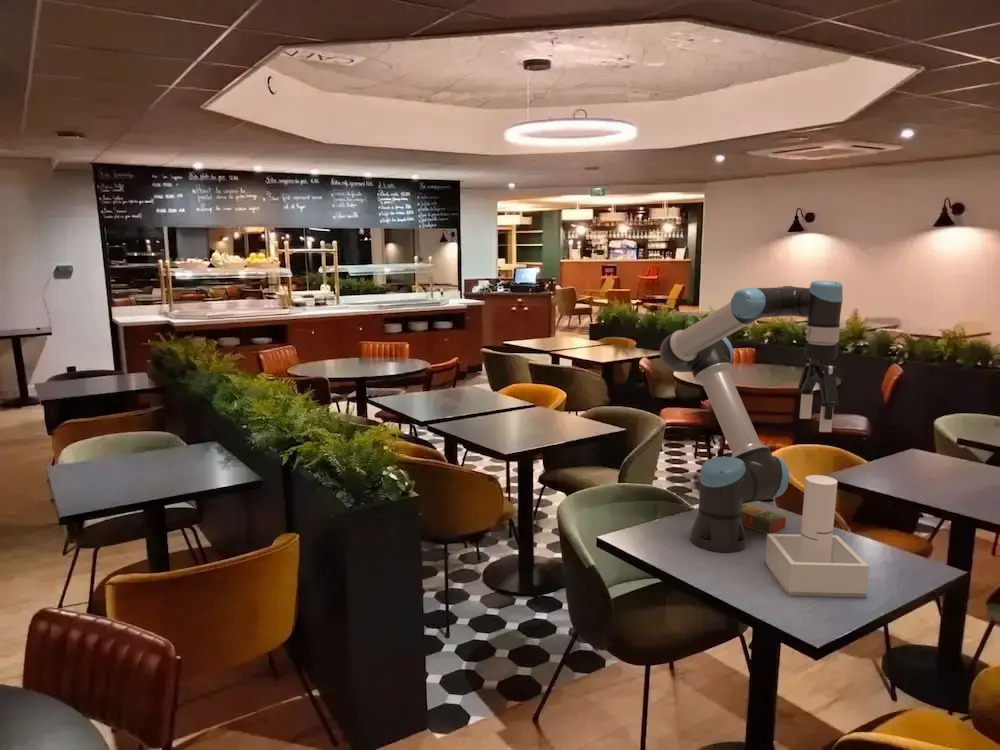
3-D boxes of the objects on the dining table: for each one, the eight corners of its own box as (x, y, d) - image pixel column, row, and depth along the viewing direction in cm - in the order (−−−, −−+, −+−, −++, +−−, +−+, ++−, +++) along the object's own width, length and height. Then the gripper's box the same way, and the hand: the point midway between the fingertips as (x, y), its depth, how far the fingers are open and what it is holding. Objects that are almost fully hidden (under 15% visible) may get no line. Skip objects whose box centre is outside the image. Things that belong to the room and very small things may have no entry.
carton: (739, 513, 225) (740, 500, 224) (785, 529, 212) (787, 515, 211) (722, 518, 220) (723, 505, 219) (769, 536, 207) (770, 521, 207)
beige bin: (765, 562, 189) (767, 533, 188) (834, 564, 188) (837, 535, 187) (788, 595, 172) (791, 564, 170) (865, 597, 171) (869, 566, 169)
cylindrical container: (831, 583, 176) (840, 485, 171) (800, 580, 177) (809, 483, 173) (824, 570, 183) (833, 476, 178) (795, 567, 184) (802, 474, 179)
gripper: (789, 336, 194) (783, 413, 197) (826, 350, 169) (818, 437, 173) (817, 336, 193) (811, 413, 197) (858, 350, 169) (850, 438, 173)
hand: (814, 424), depth 185 cm, fingers open, 13 cm apart
